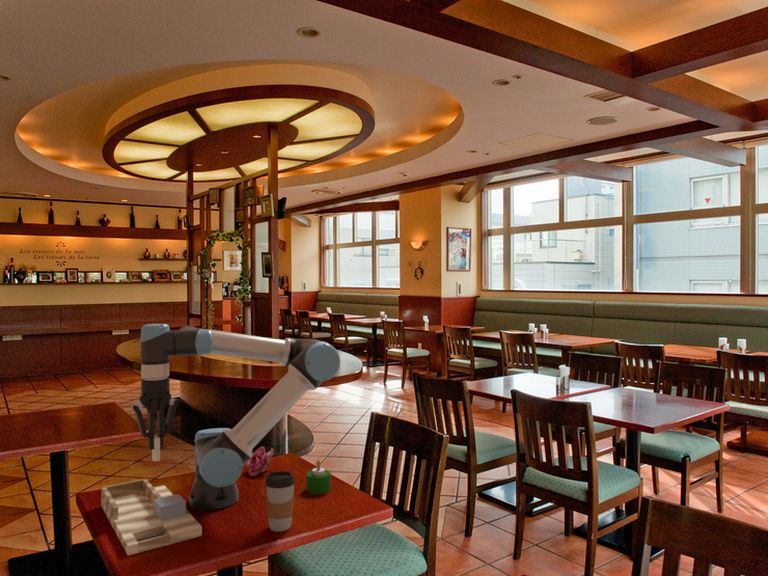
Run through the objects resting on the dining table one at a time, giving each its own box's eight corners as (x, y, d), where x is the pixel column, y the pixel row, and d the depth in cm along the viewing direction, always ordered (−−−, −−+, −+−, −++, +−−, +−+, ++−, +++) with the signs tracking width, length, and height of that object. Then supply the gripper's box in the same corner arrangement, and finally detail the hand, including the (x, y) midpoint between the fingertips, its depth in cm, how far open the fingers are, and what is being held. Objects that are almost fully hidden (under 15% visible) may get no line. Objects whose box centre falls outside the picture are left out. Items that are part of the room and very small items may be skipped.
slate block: (154, 512, 161) (154, 499, 161) (178, 507, 166) (178, 493, 166) (160, 521, 156) (160, 507, 156) (185, 514, 160) (185, 501, 160)
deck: (101, 506, 172) (101, 487, 172) (164, 492, 184) (164, 474, 184) (127, 555, 141) (127, 532, 141) (201, 535, 152) (201, 514, 152)
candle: (335, 488, 188) (335, 459, 188) (320, 496, 181) (320, 465, 181) (316, 483, 193) (316, 455, 192) (301, 490, 186) (301, 461, 185)
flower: (251, 486, 199) (236, 462, 200) (260, 478, 209) (246, 456, 210) (276, 468, 198) (261, 445, 199) (284, 462, 208) (270, 439, 209)
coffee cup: (267, 521, 162) (267, 470, 161) (295, 520, 162) (295, 469, 162) (263, 534, 153) (263, 480, 153) (293, 533, 154) (293, 479, 154)
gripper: (174, 373, 164) (175, 452, 164) (127, 378, 156) (128, 461, 156) (182, 377, 158) (183, 458, 158) (134, 382, 150) (135, 468, 150)
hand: (156, 459), depth 157 cm, fingers closed
